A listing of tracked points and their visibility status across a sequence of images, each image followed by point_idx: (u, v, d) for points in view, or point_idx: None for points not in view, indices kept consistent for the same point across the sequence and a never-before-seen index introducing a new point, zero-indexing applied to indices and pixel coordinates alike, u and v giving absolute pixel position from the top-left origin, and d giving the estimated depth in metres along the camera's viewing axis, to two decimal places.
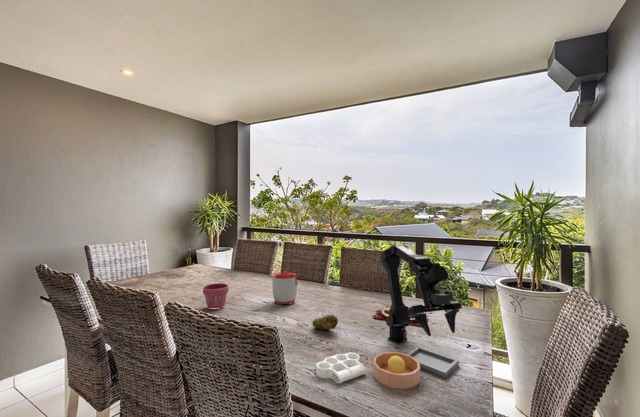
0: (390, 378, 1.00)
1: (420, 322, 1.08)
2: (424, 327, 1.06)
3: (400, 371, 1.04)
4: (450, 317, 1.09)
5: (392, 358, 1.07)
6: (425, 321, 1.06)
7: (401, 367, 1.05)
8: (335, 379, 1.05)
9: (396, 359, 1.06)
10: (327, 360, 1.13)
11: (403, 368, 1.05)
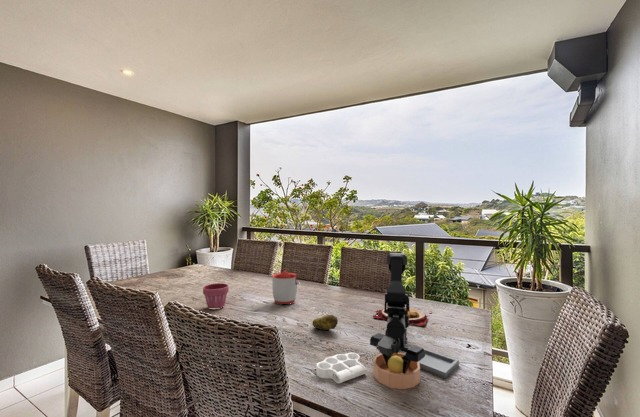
0: (390, 378, 1.00)
1: None
2: None
3: (400, 371, 1.04)
4: None
5: (392, 358, 1.07)
6: (384, 355, 1.09)
7: (401, 367, 1.05)
8: (335, 379, 1.05)
9: (396, 359, 1.06)
10: (327, 360, 1.13)
11: None
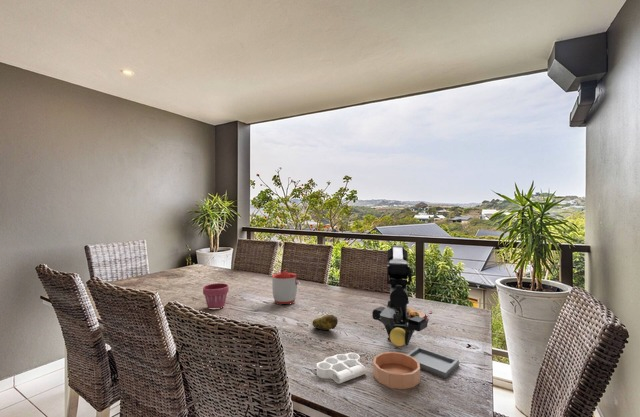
0: (390, 378, 1.00)
1: None
2: None
3: (402, 342, 1.05)
4: None
5: (394, 329, 1.07)
6: (386, 327, 1.10)
7: (404, 338, 1.05)
8: (335, 379, 1.04)
9: (398, 330, 1.06)
10: (327, 360, 1.13)
11: None
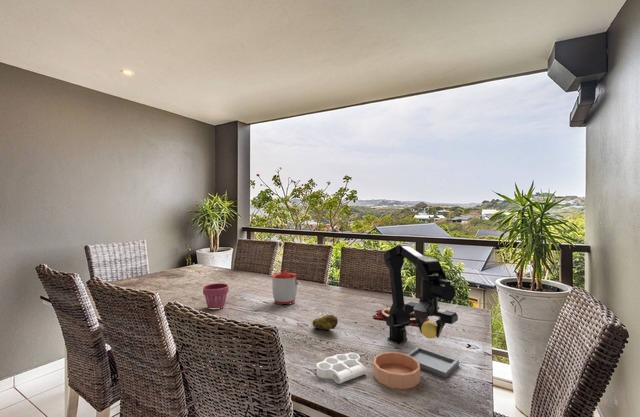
0: (390, 378, 1.00)
1: None
2: None
3: (434, 334, 1.12)
4: None
5: (426, 323, 1.14)
6: (418, 321, 1.17)
7: (435, 331, 1.12)
8: (335, 379, 1.04)
9: (430, 323, 1.13)
10: (327, 360, 1.13)
11: (436, 332, 1.12)
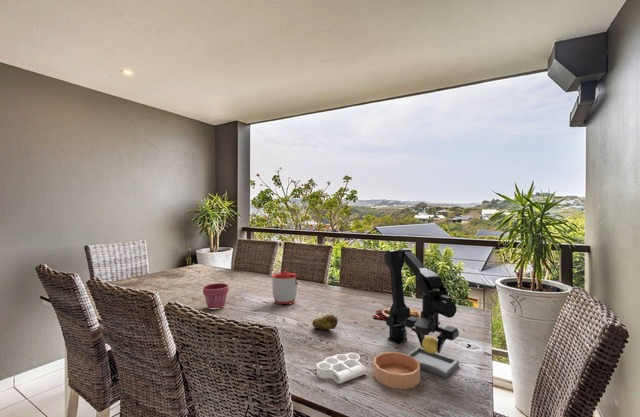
0: (390, 378, 1.00)
1: None
2: None
3: (435, 350, 1.12)
4: None
5: (427, 338, 1.15)
6: (418, 336, 1.17)
7: (436, 346, 1.12)
8: (335, 379, 1.04)
9: (431, 339, 1.14)
10: (327, 360, 1.13)
11: None
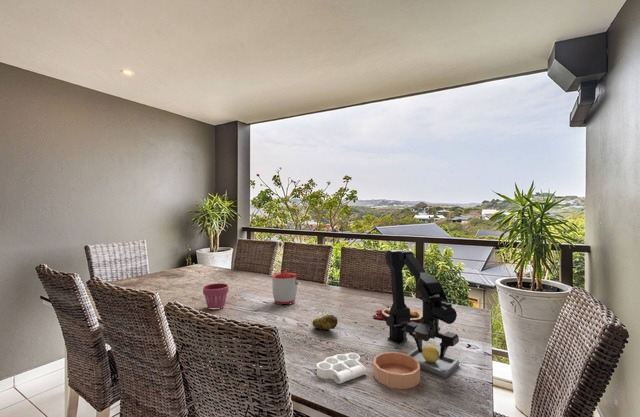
0: (390, 378, 1.00)
1: None
2: None
3: (435, 359, 1.12)
4: None
5: (427, 347, 1.15)
6: (416, 340, 1.18)
7: (436, 355, 1.12)
8: (336, 379, 1.04)
9: (431, 348, 1.14)
10: (327, 360, 1.13)
11: (437, 356, 1.13)
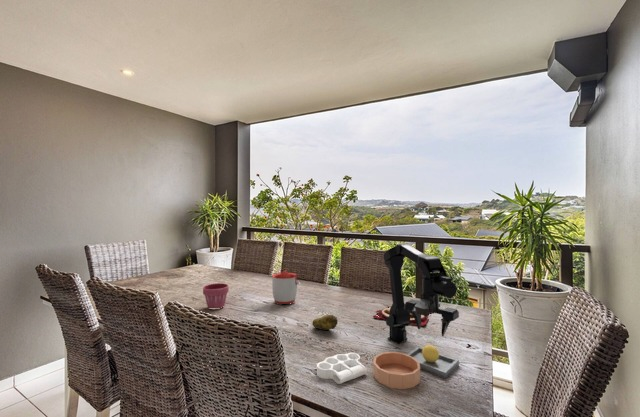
0: (390, 378, 1.00)
1: None
2: None
3: (435, 359, 1.12)
4: None
5: (426, 347, 1.15)
6: (415, 317, 1.18)
7: (436, 355, 1.12)
8: (336, 379, 1.04)
9: (430, 348, 1.14)
10: (327, 360, 1.13)
11: (437, 356, 1.13)
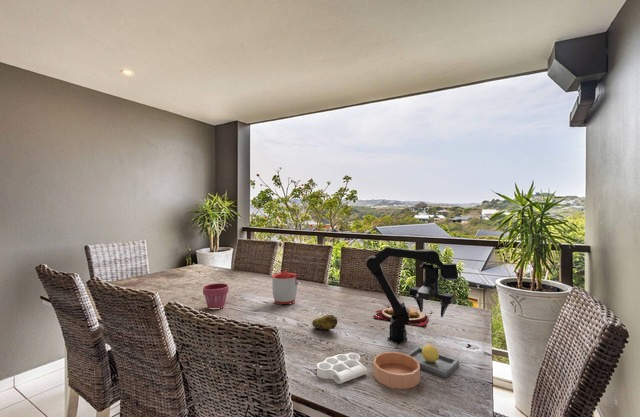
0: (390, 378, 1.00)
1: None
2: None
3: (434, 358, 1.12)
4: None
5: (426, 347, 1.15)
6: (418, 302, 1.36)
7: (436, 355, 1.12)
8: (336, 379, 1.04)
9: (430, 347, 1.14)
10: (328, 360, 1.13)
11: (437, 355, 1.13)
